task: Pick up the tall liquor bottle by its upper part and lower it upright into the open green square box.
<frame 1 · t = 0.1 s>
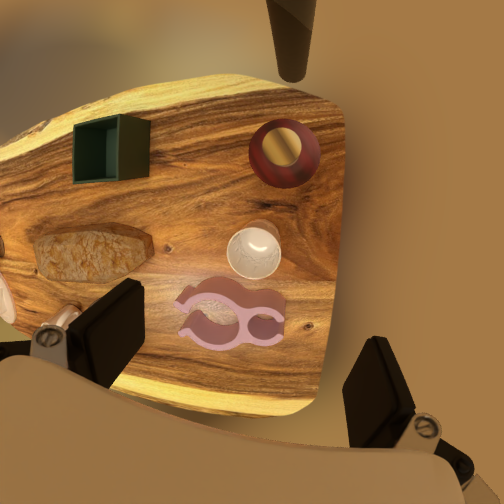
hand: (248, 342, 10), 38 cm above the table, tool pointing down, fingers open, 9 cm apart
green square box: (126, 150, 47), on the table
liquor: (286, 159, 44), on the table
white cup: (261, 236, 49), on the table
dish: (0, 293, 70), on the table
mug: (78, 317, 63), on the table
bread: (90, 248, 55), on the table
clip: (234, 305, 54), on the table
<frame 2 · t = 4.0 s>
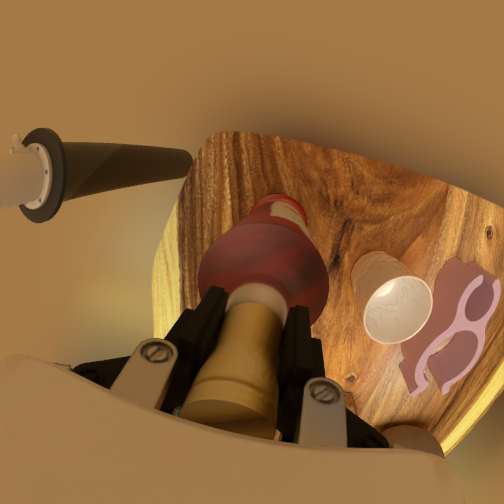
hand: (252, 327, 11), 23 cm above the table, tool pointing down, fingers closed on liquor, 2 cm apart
liquor: (278, 221, 33), on the table, touching gripper
white cup: (374, 274, 33), on the table
planter: (400, 425, 42), on the table
clip: (440, 318, 34), on the table
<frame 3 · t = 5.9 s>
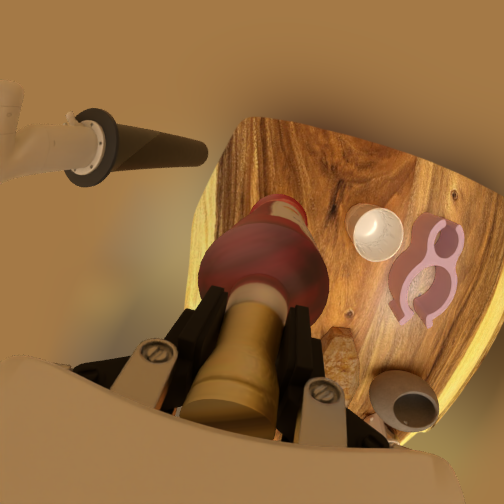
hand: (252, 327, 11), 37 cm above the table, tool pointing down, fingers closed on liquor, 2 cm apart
liquor: (278, 221, 33), point 14 cm above the table, touching gripper
white cup: (362, 221, 45), on the table
mug: (375, 419, 59), on the table
planter: (395, 371, 54), on the table
bread: (321, 387, 57), on the table
clip: (419, 263, 45), on the table
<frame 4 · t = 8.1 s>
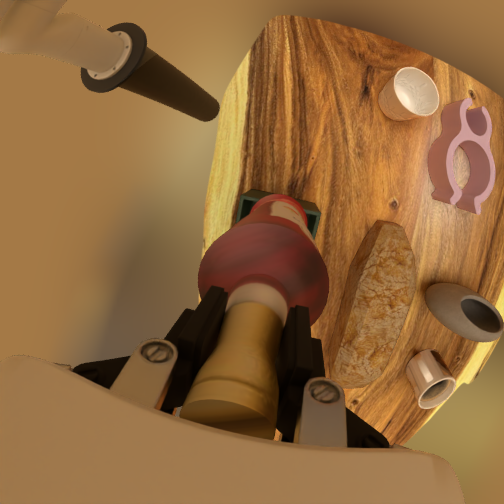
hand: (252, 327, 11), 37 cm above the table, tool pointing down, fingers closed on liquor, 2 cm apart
green square box: (276, 226, 47), on the table
liquor: (278, 221, 33), point 14 cm above the table, touching gripper
white cup: (394, 103, 37), on the table
mug: (422, 360, 52), on the table
planter: (444, 289, 46), on the table
bread: (365, 309, 50), on the table
clip: (454, 154, 38), on the table
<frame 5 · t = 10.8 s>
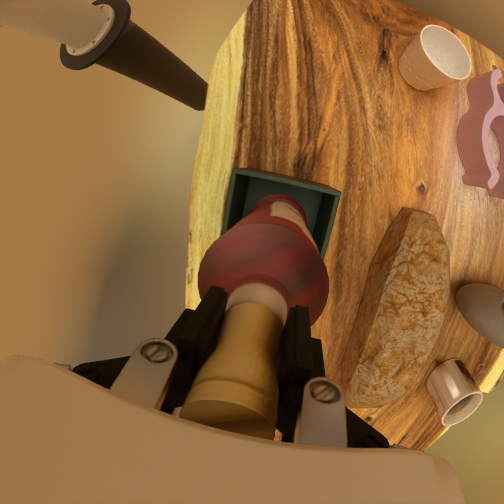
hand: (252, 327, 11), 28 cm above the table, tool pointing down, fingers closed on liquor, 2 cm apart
green square box: (279, 214, 37), on the table
liquor: (278, 221, 33), point 5 cm above the table, touching gripper
white cup: (416, 71, 28), on the table
mug: (444, 371, 42), on the table
planter: (473, 290, 36), on the table
bread: (386, 316, 40), on the table
clip: (483, 133, 28), on the table
when the fingers open (23 cm above the table, at t = 12.3 s): liquor stays where it is, resting on green square box.
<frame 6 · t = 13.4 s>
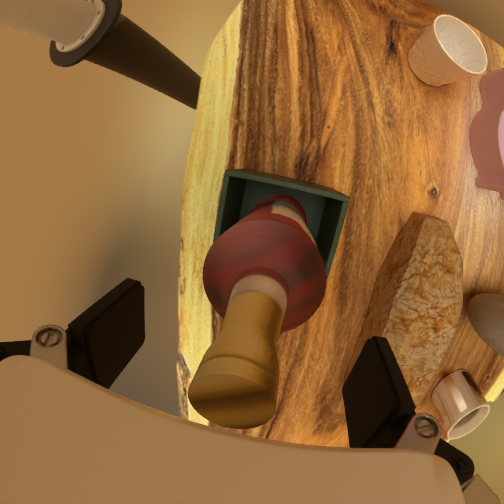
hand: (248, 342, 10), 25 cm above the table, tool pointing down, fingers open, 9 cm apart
green square box: (279, 220, 34), on the table
liquor: (278, 220, 34), resting on green square box
white cup: (427, 66, 24), on the table
mug: (451, 382, 38), on the table
planter: (483, 299, 33), on the table
bread: (393, 329, 37), on the table
clip: (496, 133, 25), on the table
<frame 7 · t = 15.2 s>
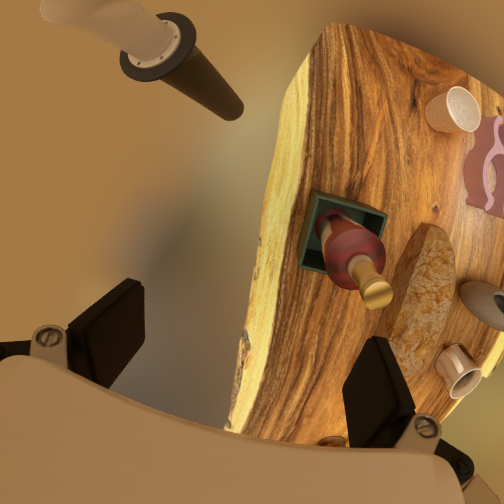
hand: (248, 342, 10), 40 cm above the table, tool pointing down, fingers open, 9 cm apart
green square box: (333, 226, 47), on the table
liquor: (333, 226, 47), resting on green square box
white cup: (437, 116, 38), on the table
mug: (450, 354, 52), on the table
planter: (472, 287, 46), on the table
bread: (406, 306, 50), on the table
vase: (330, 442, 66), on the table
clip: (484, 164, 38), on the table
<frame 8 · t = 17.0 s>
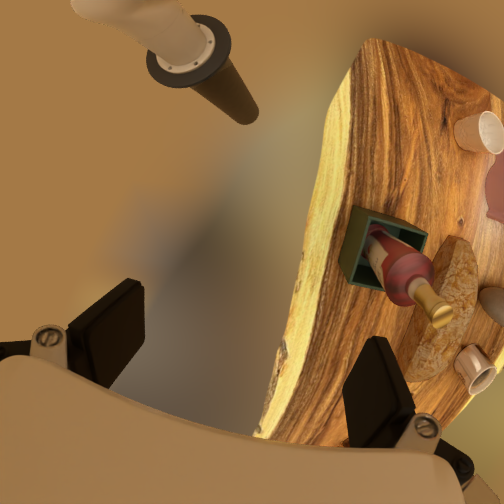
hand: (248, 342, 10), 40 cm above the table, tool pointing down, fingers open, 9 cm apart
green square box: (372, 240, 48), on the table
liquor: (372, 240, 48), resting on green square box
white cup: (464, 135, 38), on the table
mug: (467, 354, 52), on the table
planter: (488, 292, 47), on the table
bread: (432, 312, 50), on the table
clip: (502, 179, 38), on the table
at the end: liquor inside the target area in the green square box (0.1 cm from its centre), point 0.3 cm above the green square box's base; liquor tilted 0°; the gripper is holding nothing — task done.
